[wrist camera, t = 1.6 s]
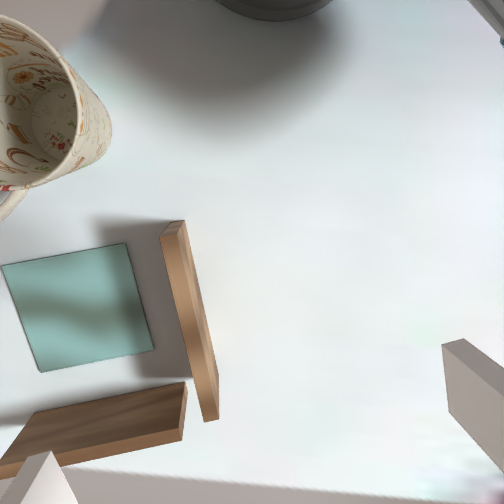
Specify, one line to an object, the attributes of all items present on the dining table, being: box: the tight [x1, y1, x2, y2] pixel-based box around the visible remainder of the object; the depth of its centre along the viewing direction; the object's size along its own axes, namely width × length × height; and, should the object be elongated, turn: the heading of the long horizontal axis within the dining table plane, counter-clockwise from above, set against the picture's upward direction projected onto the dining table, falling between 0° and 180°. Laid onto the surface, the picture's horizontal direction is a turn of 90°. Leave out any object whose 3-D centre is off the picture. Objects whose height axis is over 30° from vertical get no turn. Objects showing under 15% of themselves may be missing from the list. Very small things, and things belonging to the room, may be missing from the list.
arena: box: [0, 220, 219, 480], centre depth 28 cm, size 16×17×6 cm
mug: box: [0, 14, 112, 222], centre depth 22 cm, size 8×13×10 cm, turn 149°
